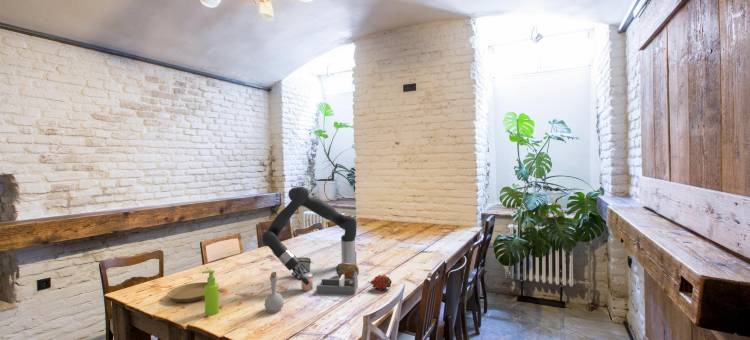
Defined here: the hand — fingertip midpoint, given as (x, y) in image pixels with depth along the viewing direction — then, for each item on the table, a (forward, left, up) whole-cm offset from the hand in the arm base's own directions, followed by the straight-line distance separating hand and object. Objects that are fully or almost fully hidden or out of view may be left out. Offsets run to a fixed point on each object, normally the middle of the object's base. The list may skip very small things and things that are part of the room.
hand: (310, 281), depth 194 cm
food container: (-6, -26, -5) cm, 27 cm away
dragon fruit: (-33, +22, -5) cm, 39 cm away
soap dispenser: (+50, +3, -5) cm, 51 cm away
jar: (+1, -1, -4) cm, 5 cm away
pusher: (-14, +11, -3) cm, 18 cm away
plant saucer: (+55, -26, -5) cm, 62 cm away
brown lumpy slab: (-27, -6, -5) cm, 28 cm away
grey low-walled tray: (-13, +10, -4) cm, 17 cm away
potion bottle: (+24, +16, -5) cm, 29 cm away
